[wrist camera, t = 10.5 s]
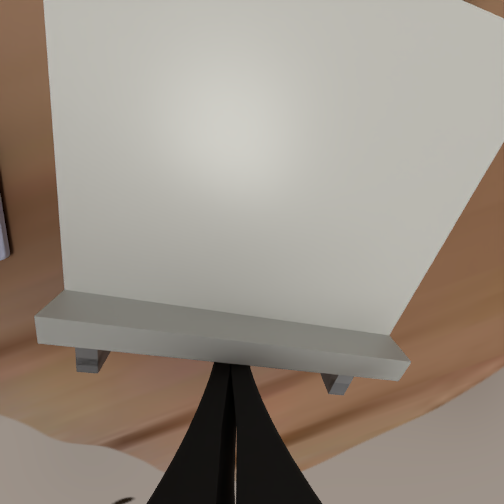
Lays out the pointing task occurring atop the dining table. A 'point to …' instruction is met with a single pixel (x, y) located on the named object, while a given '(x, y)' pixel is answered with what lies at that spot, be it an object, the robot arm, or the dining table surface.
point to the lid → (262, 172)
